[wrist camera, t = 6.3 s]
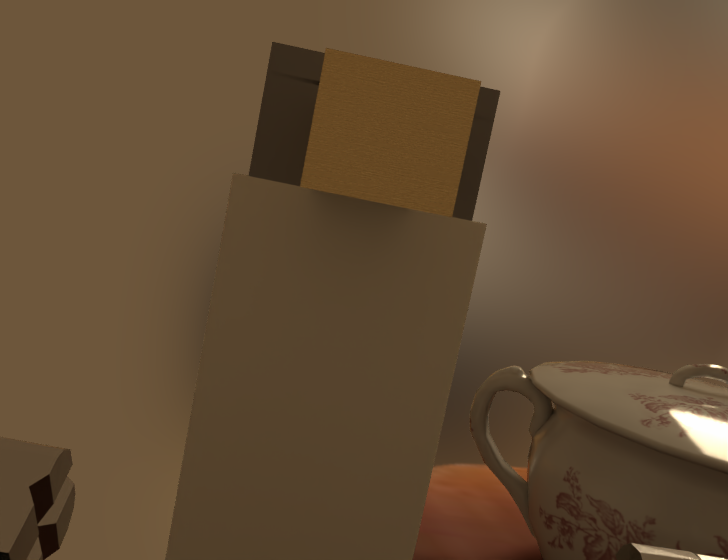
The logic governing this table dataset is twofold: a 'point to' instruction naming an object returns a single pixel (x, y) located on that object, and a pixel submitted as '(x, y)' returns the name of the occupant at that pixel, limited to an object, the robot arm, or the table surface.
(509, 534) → the table surface
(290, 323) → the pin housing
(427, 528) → the table surface
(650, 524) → the chamber pot
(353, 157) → the wooden rectangular plunger
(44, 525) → the robot arm
